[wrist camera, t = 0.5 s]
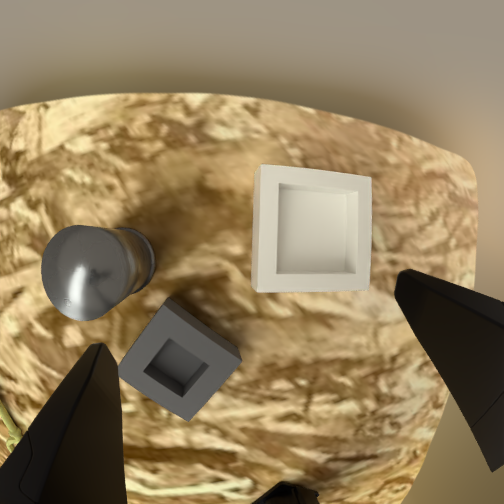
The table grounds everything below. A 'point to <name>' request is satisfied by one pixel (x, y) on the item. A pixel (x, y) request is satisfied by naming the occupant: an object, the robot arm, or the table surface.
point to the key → (10, 428)
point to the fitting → (95, 269)
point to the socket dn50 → (310, 230)
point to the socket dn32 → (178, 361)
